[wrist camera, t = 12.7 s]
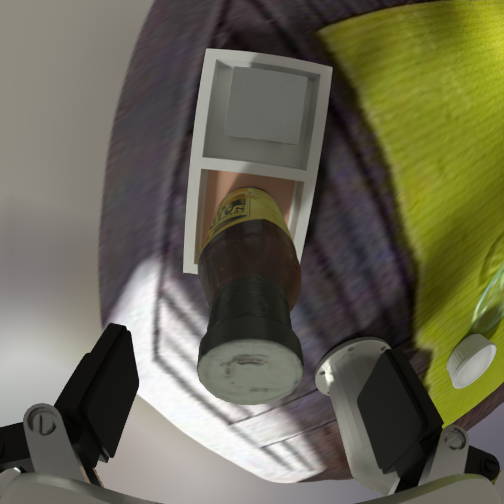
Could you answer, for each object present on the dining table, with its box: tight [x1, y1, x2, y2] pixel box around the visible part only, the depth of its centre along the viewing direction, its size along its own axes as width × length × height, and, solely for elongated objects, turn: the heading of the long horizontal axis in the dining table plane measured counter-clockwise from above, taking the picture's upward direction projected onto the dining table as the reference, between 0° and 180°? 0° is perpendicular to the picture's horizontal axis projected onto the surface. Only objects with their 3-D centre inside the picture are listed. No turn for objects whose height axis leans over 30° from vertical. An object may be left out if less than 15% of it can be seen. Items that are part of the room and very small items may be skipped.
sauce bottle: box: [197, 187, 304, 405], centre depth 18 cm, size 6×6×20 cm
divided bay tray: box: [183, 49, 333, 274], centre depth 25 cm, size 21×11×4 cm, turn 172°
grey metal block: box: [224, 66, 308, 145], centre depth 20 cm, size 5×5×8 cm
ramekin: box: [447, 334, 496, 389], centre depth 37 cm, size 11×11×5 cm
